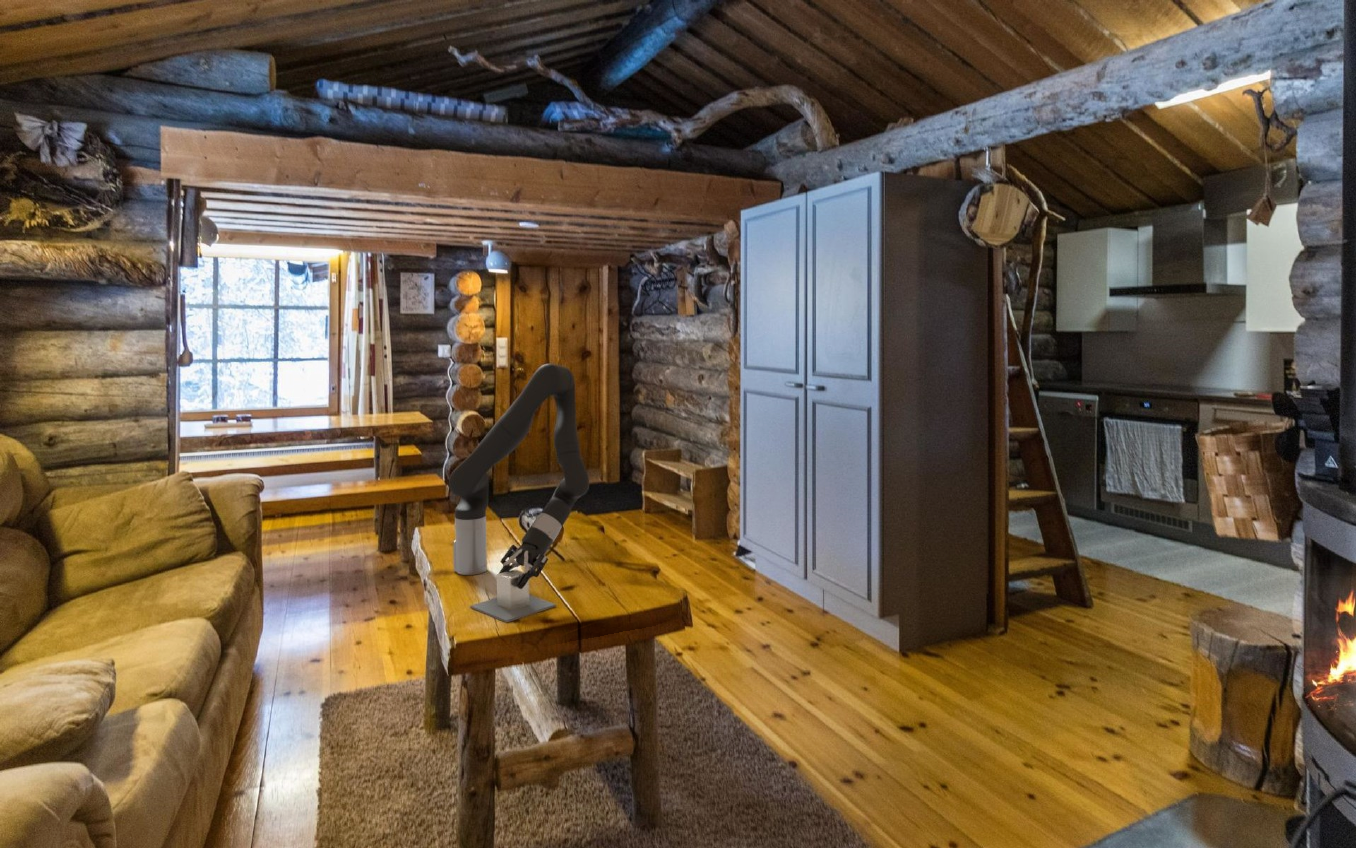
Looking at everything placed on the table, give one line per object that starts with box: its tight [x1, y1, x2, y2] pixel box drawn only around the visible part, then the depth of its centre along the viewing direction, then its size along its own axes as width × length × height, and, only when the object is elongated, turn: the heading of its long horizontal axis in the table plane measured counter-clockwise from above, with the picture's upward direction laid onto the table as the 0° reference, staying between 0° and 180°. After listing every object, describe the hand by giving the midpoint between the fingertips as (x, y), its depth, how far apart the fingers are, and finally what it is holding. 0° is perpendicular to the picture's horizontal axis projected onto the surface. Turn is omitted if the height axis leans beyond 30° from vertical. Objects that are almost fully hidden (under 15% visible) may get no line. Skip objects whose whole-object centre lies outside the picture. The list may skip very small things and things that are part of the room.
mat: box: [470, 594, 557, 624], centre depth 206 cm, size 16×16×3 cm
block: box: [496, 569, 530, 610], centre depth 205 cm, size 6×6×8 cm
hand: (508, 583), depth 204 cm, fingers open, 8 cm apart
